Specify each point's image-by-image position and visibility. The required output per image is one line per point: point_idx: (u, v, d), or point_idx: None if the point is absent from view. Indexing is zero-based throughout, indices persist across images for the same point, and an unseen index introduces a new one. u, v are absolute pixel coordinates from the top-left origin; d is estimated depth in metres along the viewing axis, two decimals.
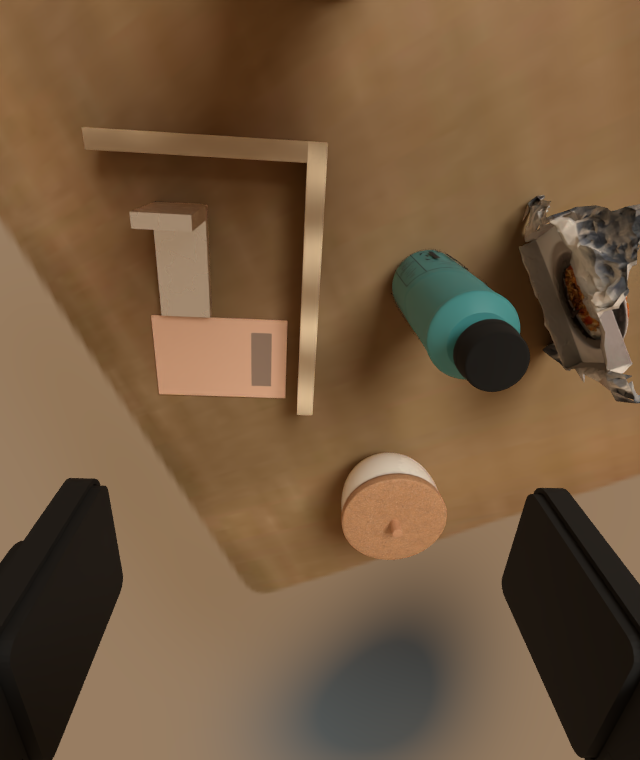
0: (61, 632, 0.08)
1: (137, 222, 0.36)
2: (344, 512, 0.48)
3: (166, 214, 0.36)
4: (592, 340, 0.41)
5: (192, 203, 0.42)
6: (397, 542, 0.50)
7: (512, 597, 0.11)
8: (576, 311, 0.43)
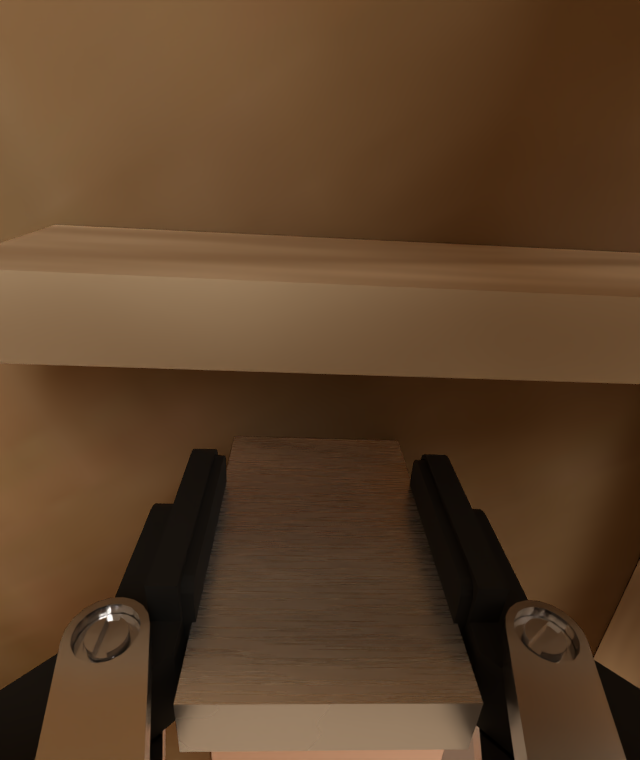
0: None
1: (211, 733, 0.07)
2: None
3: (359, 703, 0.07)
4: None
5: (353, 443, 0.13)
6: None
7: None
8: None
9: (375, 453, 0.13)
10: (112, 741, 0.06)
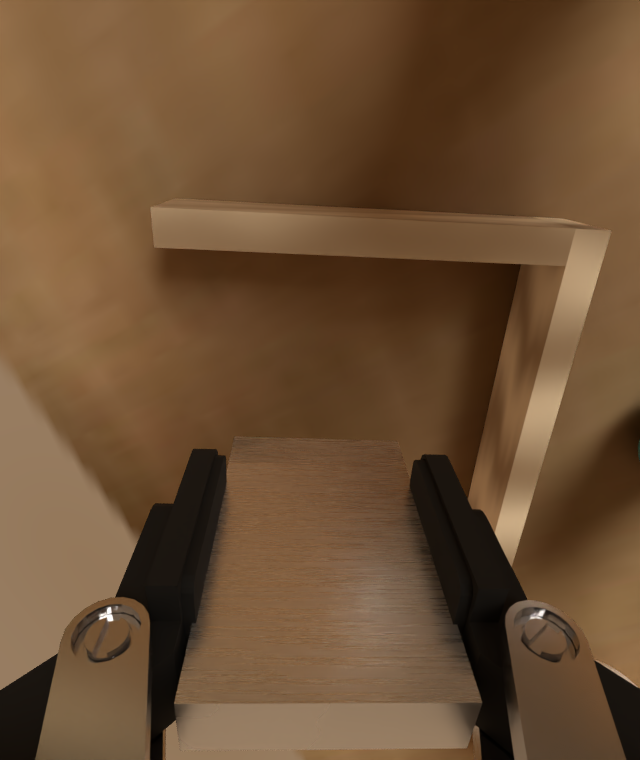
0: None
1: (211, 732, 0.07)
2: None
3: (359, 702, 0.07)
4: None
5: (353, 443, 0.13)
6: None
7: None
8: None
9: (375, 453, 0.13)
10: (112, 741, 0.06)
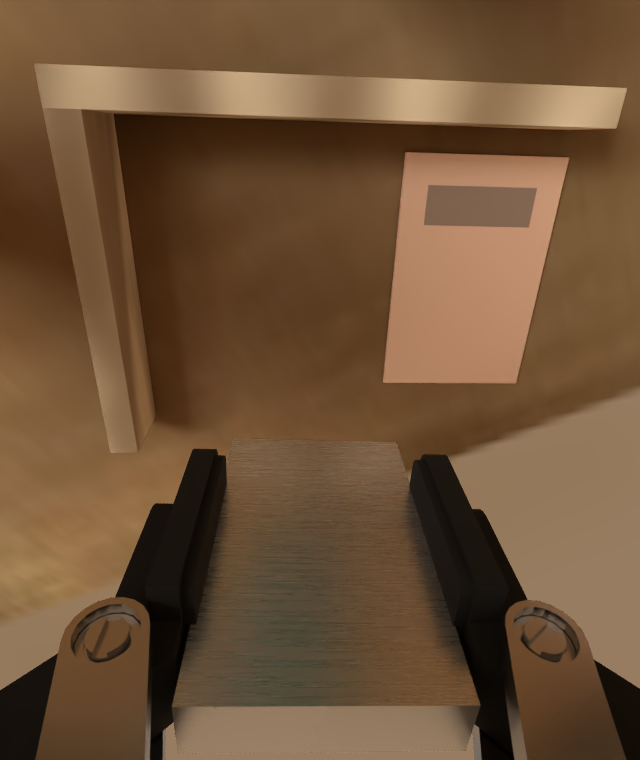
0: None
1: (209, 735, 0.07)
2: None
3: (357, 705, 0.07)
4: None
5: (352, 444, 0.13)
6: None
7: None
8: None
9: (374, 455, 0.13)
10: (112, 741, 0.06)
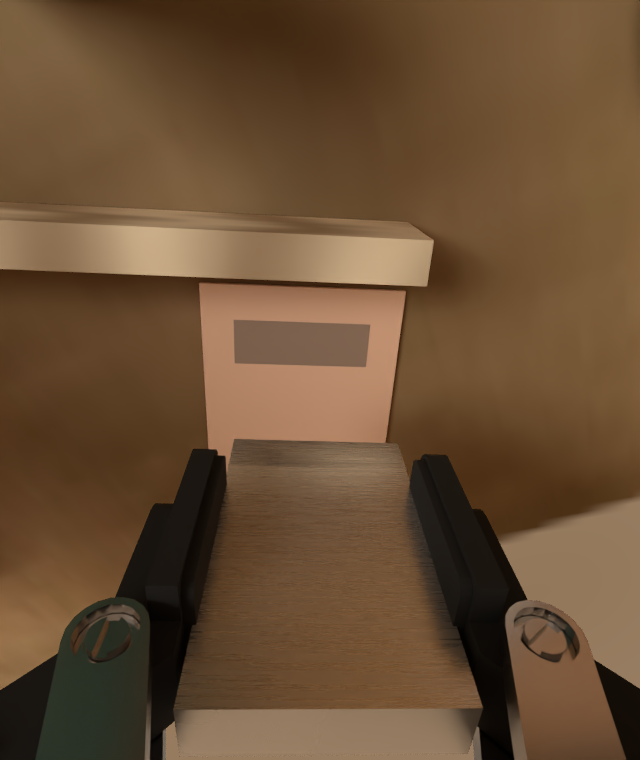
0: None
1: (211, 738, 0.07)
2: None
3: (359, 708, 0.07)
4: None
5: (353, 446, 0.13)
6: None
7: None
8: None
9: (375, 456, 0.13)
10: (112, 741, 0.06)
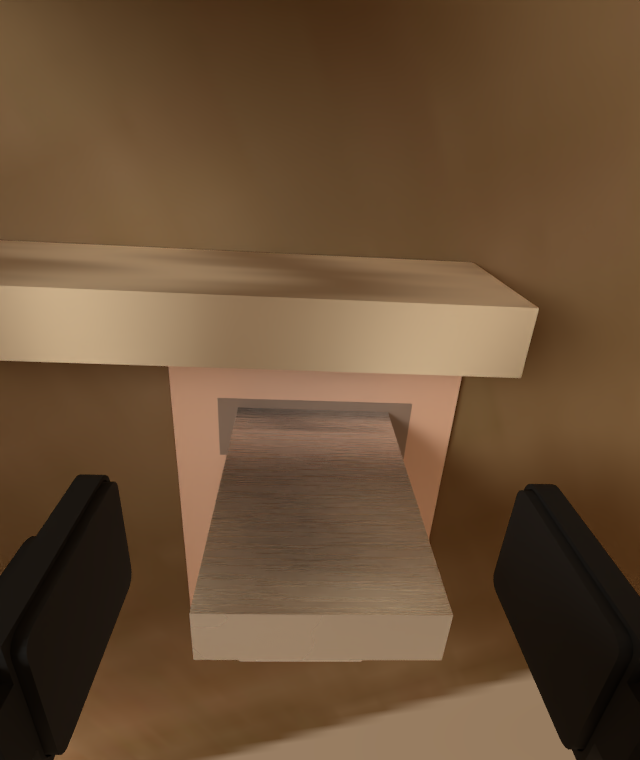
0: (74, 625, 0.08)
1: (220, 642, 0.08)
2: None
3: (347, 615, 0.08)
4: None
5: (347, 414, 0.14)
6: None
7: (503, 592, 0.11)
8: None
9: (366, 422, 0.14)
10: None
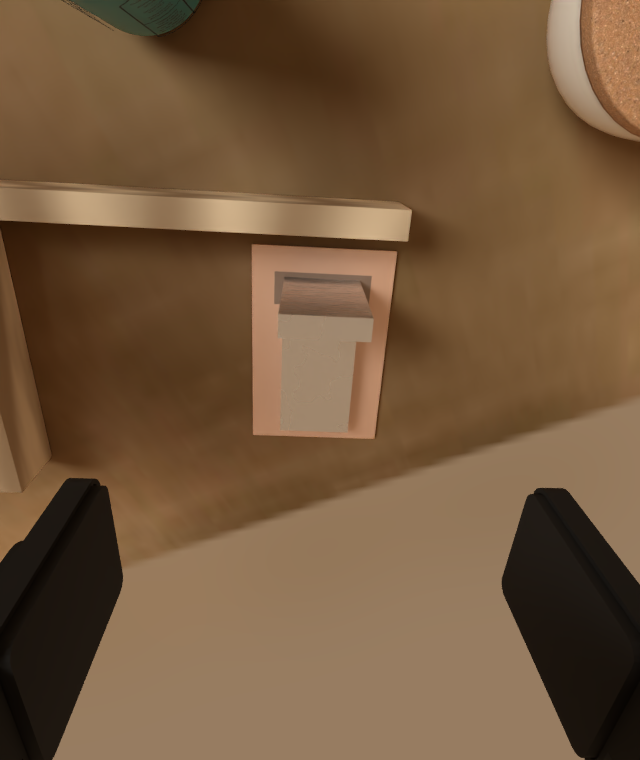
0: (61, 632, 0.08)
1: (288, 329, 0.23)
2: None
3: (335, 317, 0.23)
4: None
5: (338, 280, 0.29)
6: None
7: (512, 597, 0.11)
8: None
9: (348, 282, 0.28)
10: None
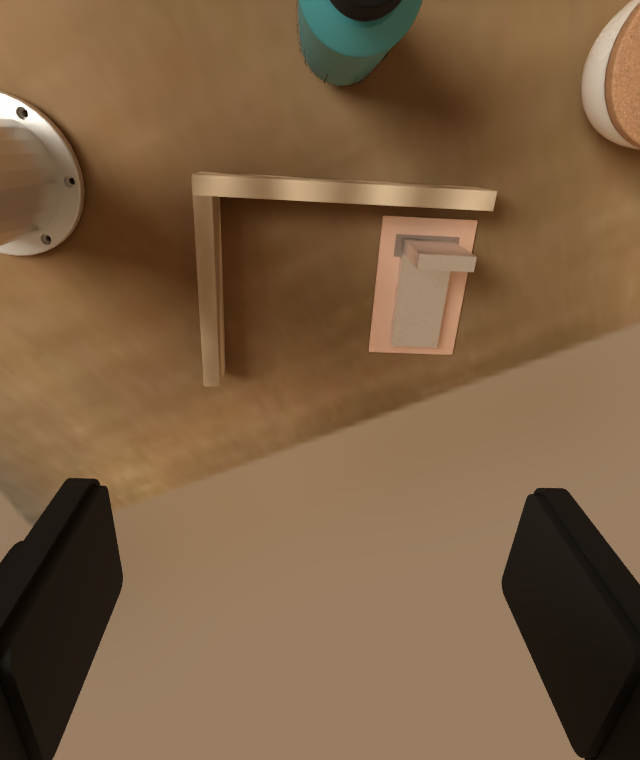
0: (61, 632, 0.08)
1: (424, 263, 0.38)
2: None
3: (453, 256, 0.37)
4: None
5: None
6: None
7: (512, 597, 0.11)
8: None
9: (445, 241, 0.43)
10: None
